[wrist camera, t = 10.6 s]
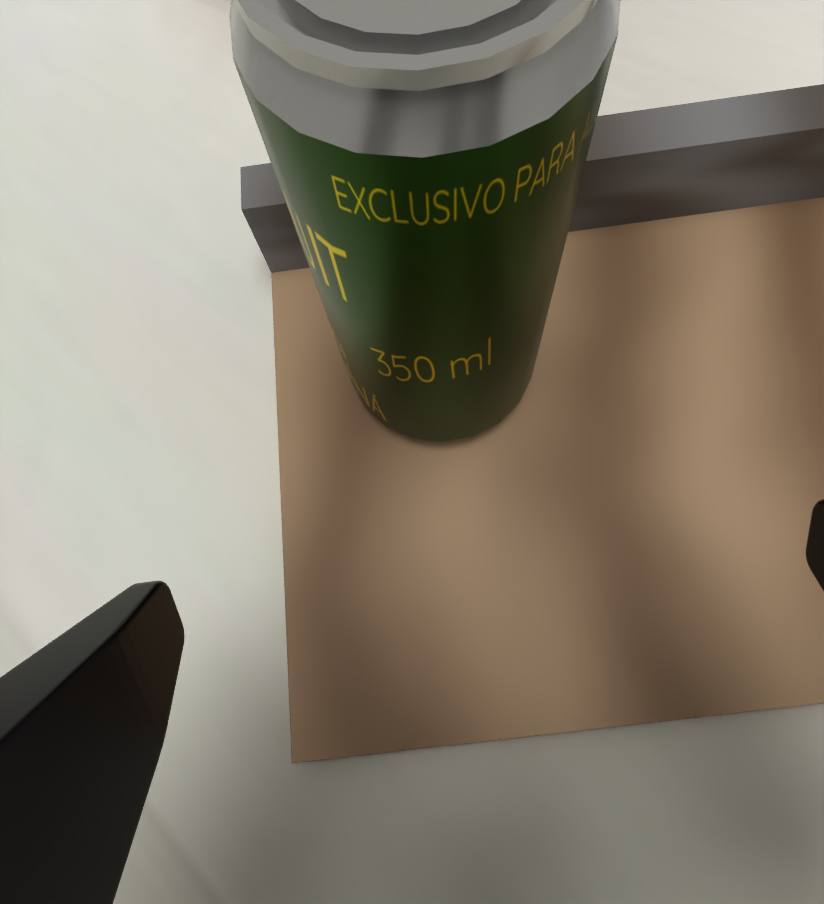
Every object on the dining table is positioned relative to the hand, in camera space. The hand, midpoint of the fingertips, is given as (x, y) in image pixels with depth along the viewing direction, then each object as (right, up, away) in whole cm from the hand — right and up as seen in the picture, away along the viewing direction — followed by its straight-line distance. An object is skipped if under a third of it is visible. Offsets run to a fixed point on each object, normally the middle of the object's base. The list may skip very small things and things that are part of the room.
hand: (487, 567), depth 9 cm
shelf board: (+5, +2, +10) cm, 12 cm away
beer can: (0, +4, +10) cm, 11 cm away
